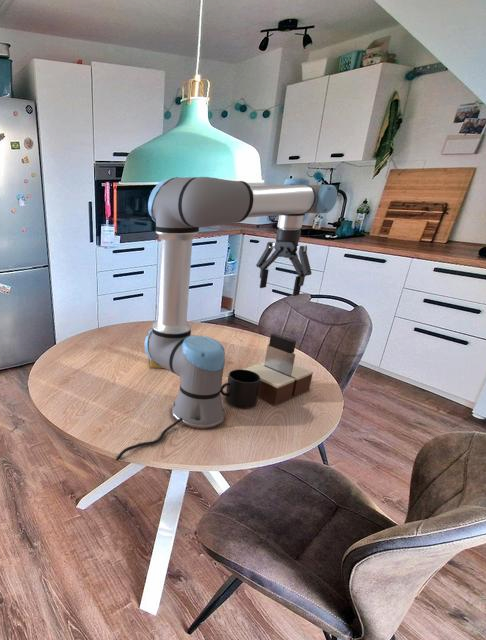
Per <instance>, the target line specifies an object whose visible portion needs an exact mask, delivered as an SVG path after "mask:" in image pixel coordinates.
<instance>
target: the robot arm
mask: <svg viewBox="0 0 486 640" xmlns="http://www.w3.org/2000/svg"><path fill="white" fill-rule="evenodd" d="M337 199H338V190H337V188H336V186H335V185H333V184H325V183H323V184H310V179H309V178H307V177H304V178H303V177H301V178H299V177H293V178H286V179H285V180H284V183H283V184H260V185H259V184H257V185H253V184H249V183H248V182H247V181H244V180H232V179H231V180H230V179H225V178H219V177H210V176H193V177H192V176H189V177H179V176H176V177H170V178H165V179H163V180H161V181H159V182H158V183H157V184H156V185H155V186H154V187H153V189H152V191H151V193H150V195H149V198H148V202H147V210H148V215H149V216H150V217H151V219H152V221H153V222H154V223H155V233H156V235H157V236H158V237H159V238H160V252H159V253H160V256H159V257H160V258H159V279H158V281H159V282H158V283H159V284H158V305H157V306H158V307H157V320H156V321H155V322H154V323H153V324H152V328H151V329H150V330H149V331H148V335H146V336H145V339H144V351H145V354H146V356H147V358H149V360H150V359H151V360H152V361H153V362H154V363H156V364H157V365H159V366H162V367H164V368H163V369H165V370H167V371H169V372H171V373H172V374H174V375H177V376H178V377H179V378H180V379H179V390H178V393H177V395H176V397H175V400H174V401H173V404H172V407H171V415H172V417H173V419H174V420H175V421H174V422H173V423H172V424H170V425H169V426H167V427H166V428H165V429H164V430H163V431H162V432H161V434H160V435H159V436H158V438H157V439H155V440H150V441H146V442H140V443H137V444H134V445H131V446H128V447H126V448H124V449H123V450H122V451H120V452H119V453H118V455H117V457H116V458H115V461H119V460H120V459H121V458H122V456H123V455H124V454H125V453H126V452H128V451H131V450H134V449H136V448H139V447H145V446H152V445H155V444H158V443H159V442H160V441H162V439H163V437H164V436H165V434H166V433H167V432H168V431H169V430H171V429H172V428H173V427H176V425H178V424H181V425H182V426H185V427H188V428H191V429H199V430H208V429H212V428H216V427H218V426H221V424H222V423H223V422H224V420H225V409H224V406H223V399H222V394H221V387H222V385H223V377H224V369H225V364H226V358H225V357H226V351H225V347H224V346H223V344H222V343H221V342H220V341H218V340H217V339H215V338H212V337H210V336H203V335H199V334H195V335H192V326H191V324H190V323H189V322H188V321H187V320H188V309H189V308H188V306H189V291H190V280H191V279H190V278H191V267H192V254H193V253H192V250H193V239H194V238H195V237H196V236H197V235H198V234H199V232H200V228H208V227H215V226H220V225H221V226H222V225H227V224H229V225H230V224H236V223H241V222H244V221H245V220H246V219H248V218H259V217H272V216H273V217H274V216H278V221H277V228H278V229H277V230H276V233H275V241H268V242H267V243H266V247H265V249H264V251H263V252H262V254H261V256H260V258H259V259H258V261H257V263H256V264H255V267H256V268H259V269H260V271H259V279H260V282H259V289H265V288H267V284H268V278H269V277H268V276H269V272H270V271H269V269H268V268H269V267H270V266H271V265H272V264H273V263H274V262H275V261H276V260H277V259H278V258H284V259H288V260H289V261H290V262H291V264H292V266H293V268H294V270H295V271H296V274H297V276H295V280H294V285H293V291H292V296H294V297H296V296H300V294H301V287H303V286H304V284H305V283H304V282H305V278H306V277H307V276H311V275H312V269H311V265H310V261H309V257H308V246H307V245H305V244H304V245H299V242H300V240H301V234H302V231H301V228H302V227H303V222H304V218H305V214H316V215H319V214H328V213H330V212H331V211H332V210H333V209H334V208H335V206H336V203H337ZM273 250H274V251H273ZM297 253H298V254H297Z"/></svg>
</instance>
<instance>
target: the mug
mask: <svg viewBox="0 0 486 640" xmlns="http://www.w3.org/2000/svg"><path fill="white" fill-rule="evenodd" d="M259 384H260V376H259V375H258V374H257V373H255V372H252V371H249V370H242V369H241V368H240V369H232V370H230V371H229V372H228V375H227V382H225V383H222V385H221V392H220V395H221V396H223V397H225V401H226V403H227V404H228V405H230V406H231V407H235V408H238V409H252V408H254V407H255V406H256V405H257V402H258V398H259V397H258V391H259ZM225 387H226V391H224V388H225Z"/></svg>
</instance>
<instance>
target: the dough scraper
mask: <svg viewBox="0 0 486 640" xmlns="http://www.w3.org/2000/svg"><path fill="white" fill-rule="evenodd" d="M296 344H297V340H295V339H292V338H289V337H287V336H283V335H281V334H278V333H271V334H270V336H269V342H268V343H267V346H266V352H265V356H264V357H265V358H264V362H265V363H264V366H265V367H267V368H270V369H272V370H274V371H277V372H279V373H282V374H284V375H286V376H289V377H291V374H292V369H293V364H294V365H295V359H296V354H295V349H296Z"/></svg>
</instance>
